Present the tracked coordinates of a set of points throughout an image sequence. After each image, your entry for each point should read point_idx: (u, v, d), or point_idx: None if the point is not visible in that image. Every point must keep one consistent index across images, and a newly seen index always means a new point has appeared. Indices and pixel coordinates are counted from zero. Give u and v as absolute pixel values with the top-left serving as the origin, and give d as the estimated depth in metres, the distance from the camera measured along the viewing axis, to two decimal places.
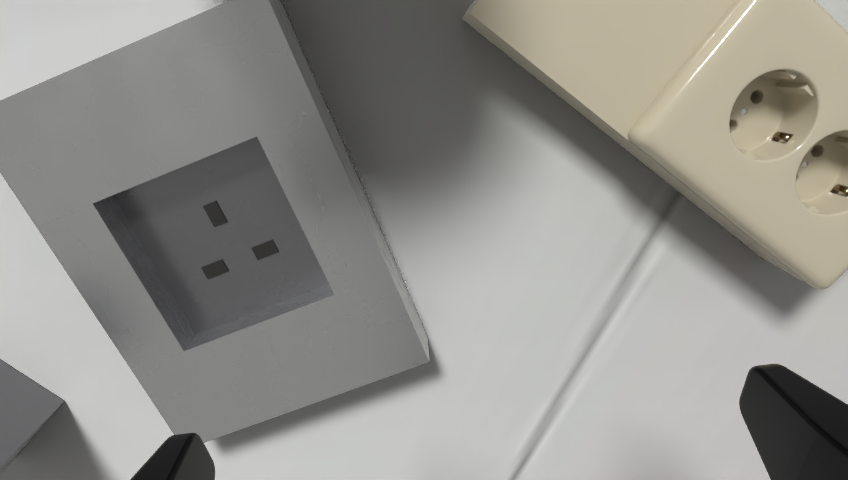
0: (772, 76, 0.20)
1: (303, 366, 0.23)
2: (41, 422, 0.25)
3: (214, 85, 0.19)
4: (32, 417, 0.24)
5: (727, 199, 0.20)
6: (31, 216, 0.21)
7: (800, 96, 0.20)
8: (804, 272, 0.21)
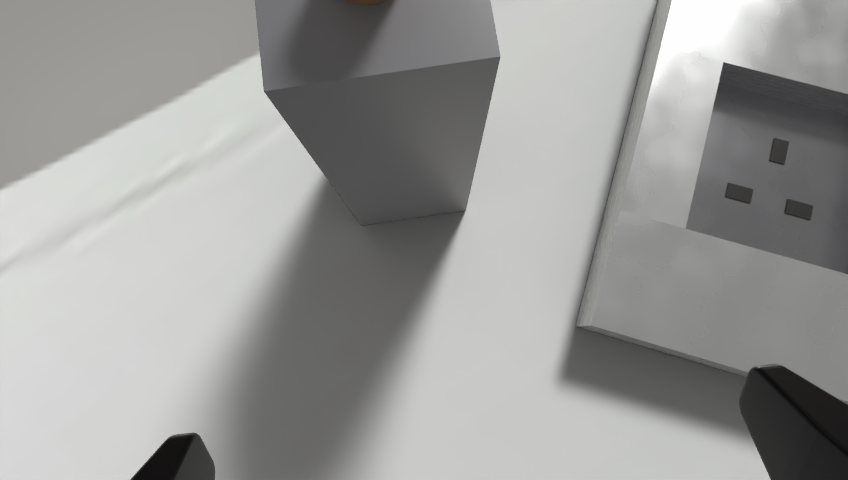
0: None
1: (789, 330, 0.20)
2: (467, 199, 0.21)
3: None
4: None
5: None
6: (665, 37, 0.22)
7: None
8: None
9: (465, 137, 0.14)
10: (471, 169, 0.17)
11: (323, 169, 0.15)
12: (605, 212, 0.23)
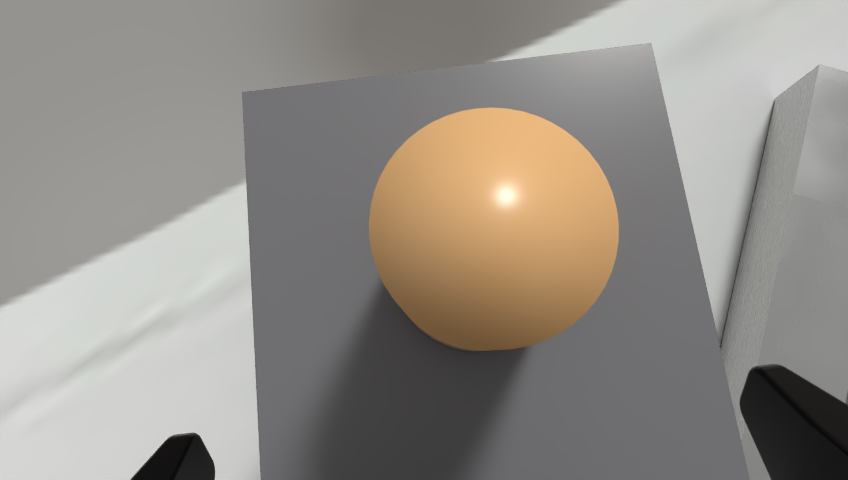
0: None
1: None
2: None
3: None
4: None
5: None
6: (799, 181, 0.16)
7: None
8: None
9: None
10: None
11: None
12: None
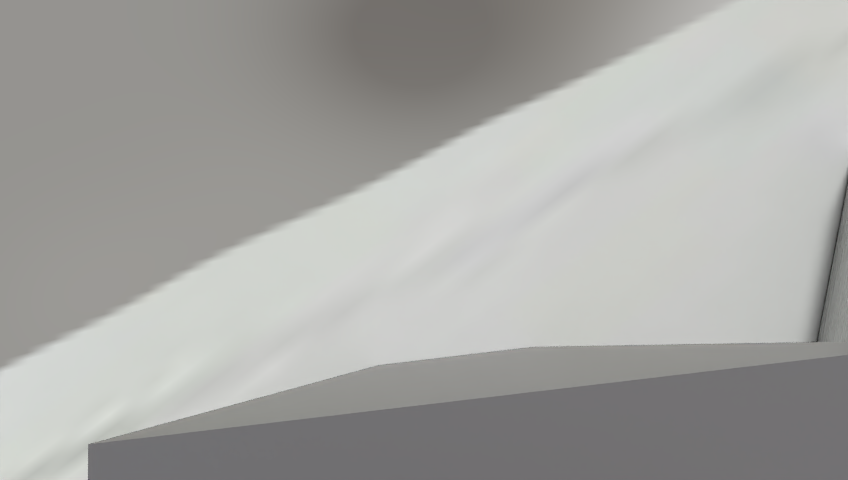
0: None
1: None
2: None
3: None
4: None
5: None
6: None
7: None
8: None
9: None
10: None
11: None
12: None
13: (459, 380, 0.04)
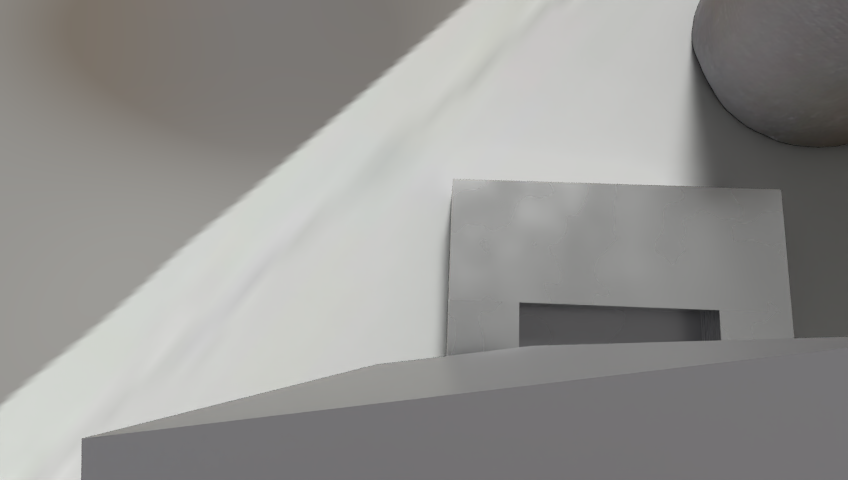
0: None
1: None
2: None
3: (699, 248, 0.19)
4: None
5: None
6: (451, 288, 0.19)
7: None
8: None
9: None
10: None
11: None
12: None
13: (454, 376, 0.04)
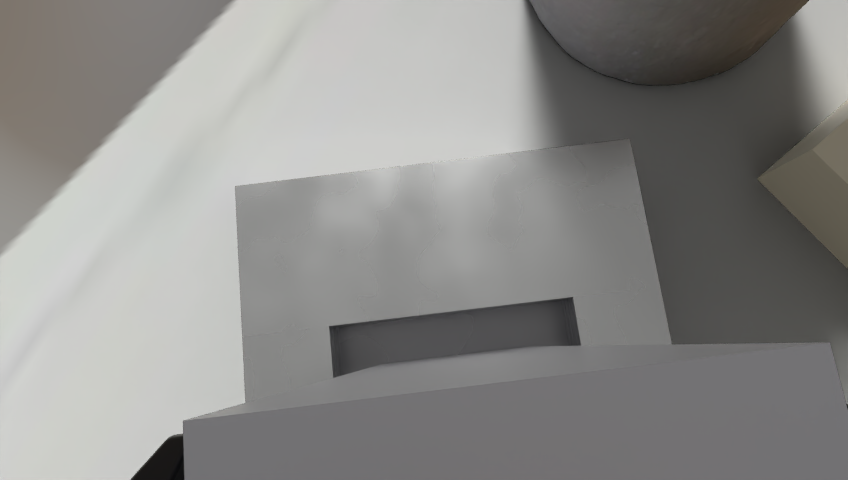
0: None
1: None
2: None
3: (540, 225, 0.16)
4: None
5: None
6: (244, 321, 0.15)
7: None
8: None
9: None
10: None
11: None
12: None
13: (455, 375, 0.05)
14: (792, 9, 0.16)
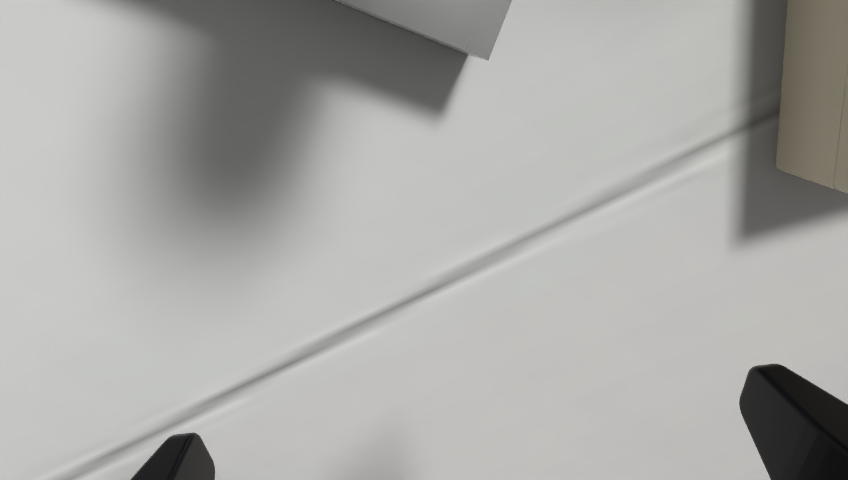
0: None
1: None
2: None
3: None
4: None
5: None
6: None
7: None
8: None
9: None
10: None
11: None
12: None
13: None
14: None
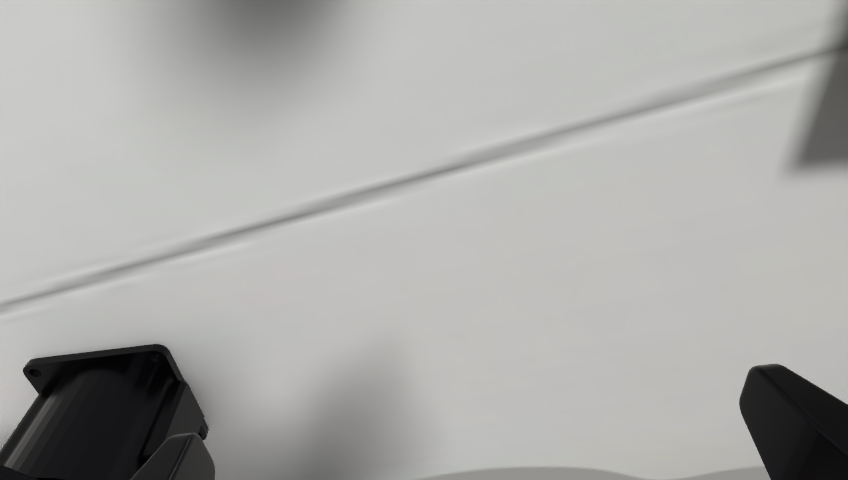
0: None
1: None
2: None
3: None
4: None
5: None
6: None
7: None
8: None
9: None
10: None
11: None
12: None
13: None
14: None
